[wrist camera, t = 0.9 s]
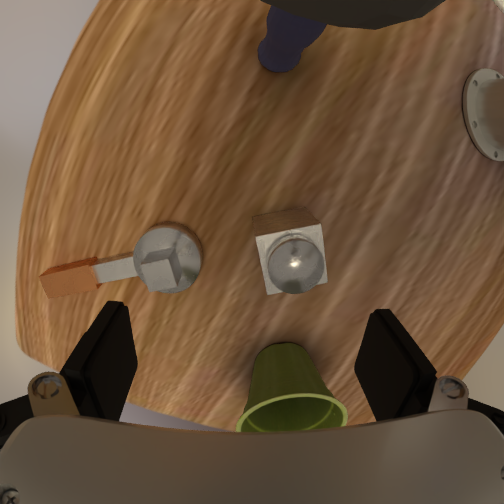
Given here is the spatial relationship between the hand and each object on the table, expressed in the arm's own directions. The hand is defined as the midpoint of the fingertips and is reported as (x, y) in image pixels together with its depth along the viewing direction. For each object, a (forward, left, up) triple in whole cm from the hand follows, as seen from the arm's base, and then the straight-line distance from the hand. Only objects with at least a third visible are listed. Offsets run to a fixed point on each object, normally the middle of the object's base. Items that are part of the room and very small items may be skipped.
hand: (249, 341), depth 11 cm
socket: (-5, 0, -21) cm, 22 cm away
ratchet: (+9, +13, -21) cm, 26 cm away
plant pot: (-15, +14, -21) cm, 30 cm away
